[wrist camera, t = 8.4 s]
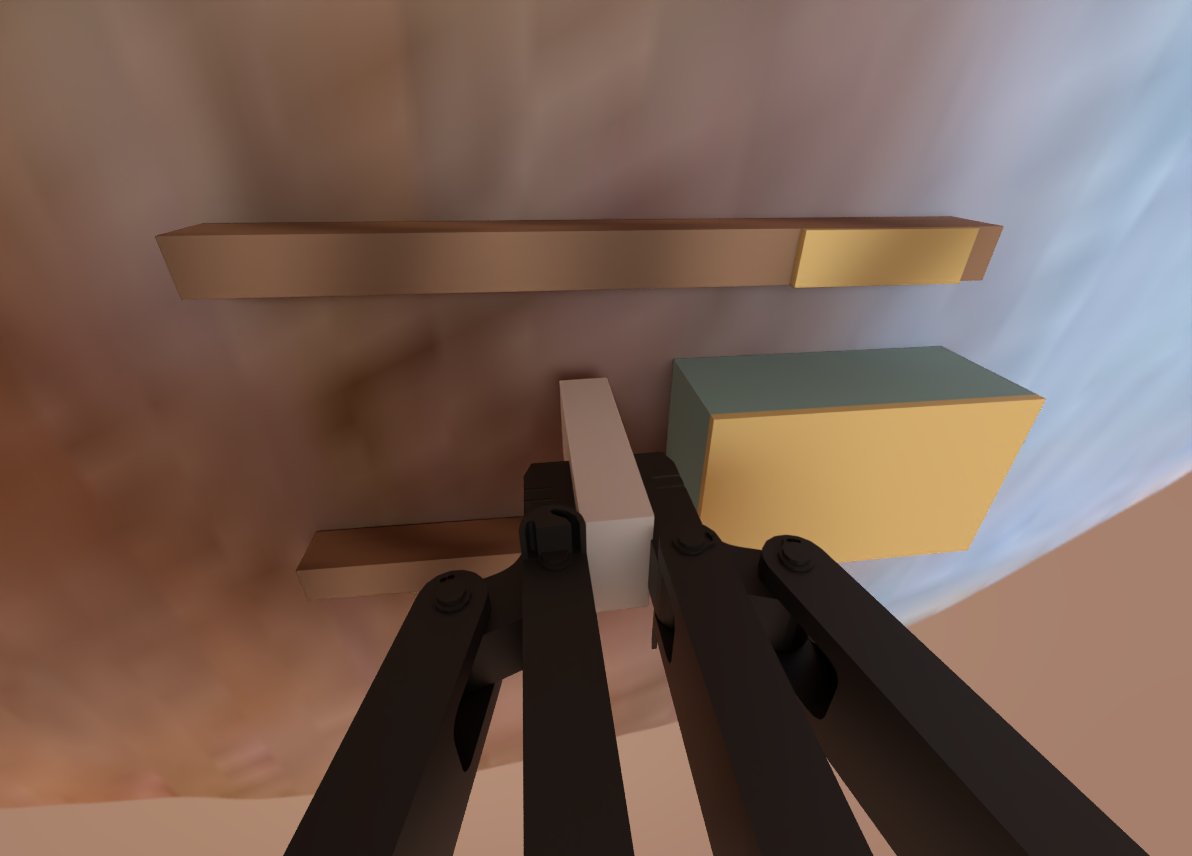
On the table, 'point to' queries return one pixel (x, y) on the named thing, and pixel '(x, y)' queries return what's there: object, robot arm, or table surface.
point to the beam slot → (540, 263)
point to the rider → (846, 447)
